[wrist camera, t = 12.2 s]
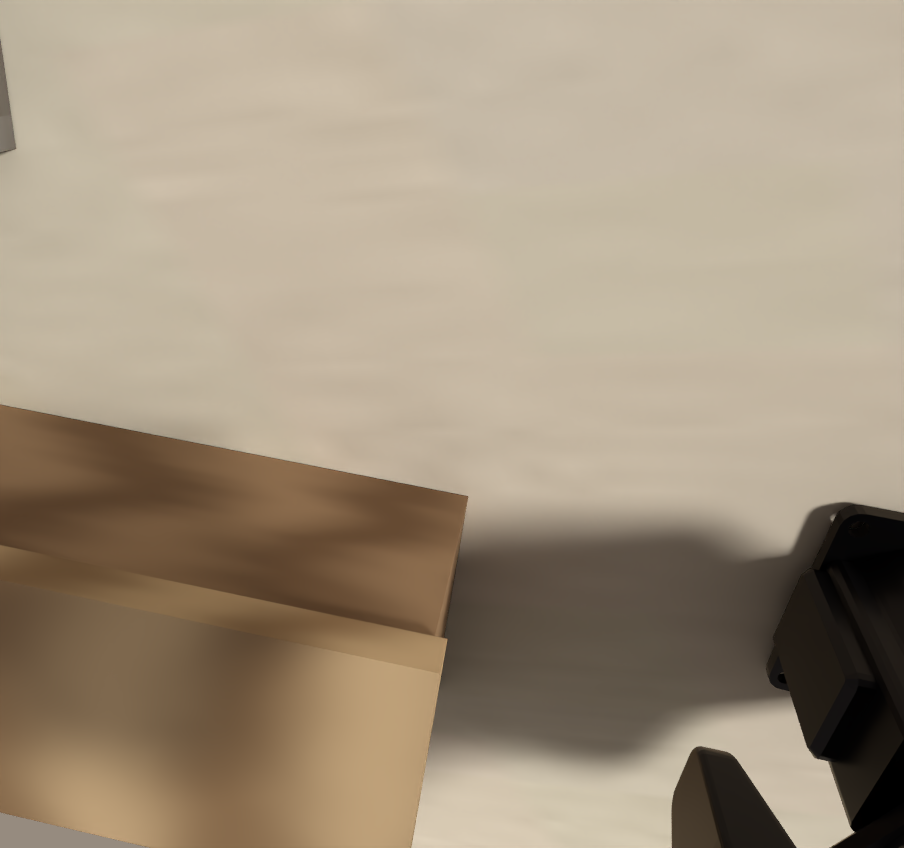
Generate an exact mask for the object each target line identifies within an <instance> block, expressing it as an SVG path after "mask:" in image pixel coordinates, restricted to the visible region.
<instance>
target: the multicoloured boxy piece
mask: <svg viewBox="0 0 904 848" xmlns="http://www.w3.org/2000/svg"><path fill="white" fill-rule="evenodd" d="M13 149H16V146H15V139H14V132H13V125H12V118H11V111H10V104H9V97H8V90H7V83H6V76H5V69H4V62H3V55H2V48H1V41H0V152H3V151H8V150H13ZM467 501H468V496H463V495H458V494H452V493H447V492H442V491H437V490H432V489H427V488H422V487H417V486H412V485H406V484H401V483H396V482H391V481H386V480H381V479H376V478H371V477H366V476H361V475H355V474H350V473H345V472H340V471H335V470H330V469H325V468H320V467H315V466H309V465H304V464H299V463H294V462H289V461H284V460H279V459H274V458H269V457H263V456H258V455H253V454H248V453H243V452H238V451H233V450H228V449H223V448H217V447H212V446H207V445H202V444H197V443H192V442H187V441H182V440H177V439H172V438H166V437H161V436H156V435H151V434H146V433H141V432H136V431H131V430H126V429H120V428H115V427H110V426H105V425H100V424H95V423H90V422H85V421H80V420H74V419H69V418H64V417H59V416H54V415H49V414H44V413H39V412H34V411H29V410H23V409H18V408H13V407H8V406H3V405H0V812H1V813H5V814H9V815H14V816H18V817H22V818H26V819H31V820H35V821H39V822H43V823H48V824H52V825H56V826H60V827H64V828H69V829H73V830H77V831H81V832H86V833H90V834H94V835H98V836H103V837H107V838H111V839H116V840H120V841H124V842H128V843H132V844H137V845H141V846H145V847H149V848H411V846H412V840H413V835H414V829H415V823H416V817H417V812H418V806H419V800H420V794H421V789H422V783H423V777H424V771H425V766H426V760H427V754H428V749H429V743H430V737H431V731H432V726H433V720H434V714H435V708H436V703H437V697H438V691H439V685H440V680H441V674H442V668H443V662H444V657H445V651H446V645H447V639H445V638H444V635H445V629H446V624H447V618H448V612H449V606H450V600H451V594H452V589H453V583H454V577H455V571H456V565H457V559H458V553H459V548H460V542H461V536H462V530H463V524H464V518H465V512H466V507H467Z"/></svg>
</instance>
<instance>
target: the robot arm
mask: <svg viewBox="0 0 904 848" xmlns="http://www.w3.org/2000/svg"><path fill="white" fill-rule="evenodd" d="M856 522H864V523H863V525H862V526H861V527H858V528H855V529H850V528H849V527H850V526H851V525H852V524H853V523H856ZM773 640H774V643H775V648H774V650H773V652H772V654H771V656H770V658H769V661H768V663H767V666H766V670H767V674H768V677H769V680H770V683H771V684H772V685H773V686H774V687H776V688H779V689H782V690H787V691H790V694H791V697H792V701H793V704H794V707H795V710H796V713H797V716H798V720H799V723H800V726H801V729H802V732H803V736H804V739H805V742H806V745H807V748H808V749H809V751H810V752H811V753H812V755H813V756H814V758H817V759H821V760H826V761H828V762H829V765H830V768H831V771H832V774H833V777H834V780H835V783H836V786H837V789H838V792H839V795H840V798H841V801H842V804H843V807H844V810H845V812H846V815H847V818H848V821H849V824H850V827H851V828H852V830H853V831H855V832H854V833H853V834H851V835H849V836H848V837H846V838H845V839H843V840H841V841H840V842H838V843H837V844H835V845H833V846H832V847H830V848H904V513H899V512H893V511H888V510H883V509H878V508H872V507H867V506H862V505H853V506H849V507H846V508H844V509H843V510H841V511H840V512H839V513H838V514H837V515H836V517H835V519H834V521H833V523H832V525H831V527H830V529H829V532H828V534H827V536H826V538H825V540H824V542H823V544H822V547H821V549H820V551H819V553H818V555H817V557H816V560H815V562H814V564H813V566H812V568H811V569H808V570H807V571H806V572H805V573H803V574H802V575H801V577H800V579H799V581H798V584H797V586H796V588H795V590H794V592H793V595H792V597H791V599H790V601H789V603H788V605H787V608H786V610H785V612H784V614H783V616H782V618H781V621H780V623H779V625H778V627H777V629H776V632H775V634H774V636H773ZM782 672H784V674H780V673H782ZM672 848H796V846H795V845H794V843H793V842H792V840H791V839H790V837H789V836H788V834H787V833H786V832H785V830H784V829H783V827H782V826H781V824H780V823H779V821H778V820H777V818H776V817H775V815H774V814H773V812H772V811H771V809H770V808H769V806H768V805H767V803H766V802H765V801H764V799H763V798H762V796H761V795H760V793H759V792H758V790H757V789H756V787H755V786H754V784H753V783H752V781H751V780H750V778H749V777H748V775H747V774H746V772H745V771H744V770H743V768H742V767H741V765H740V764H739V762H738V761H737V759H736V758H735V757H734V756H733V755H731V754H730V753H728V752H725V751H720V750H716V749H711V748H706V747H702V746H700V747H696V748H694V749H693V750H692V752H691V754H690V756H689V758H688V760H687V763H686V765H685V767H684V770H683V772H682V774H681V777H680V779H679V781H678V784H677V786H676V788H675V791H674V795H673V800H672Z"/></svg>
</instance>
